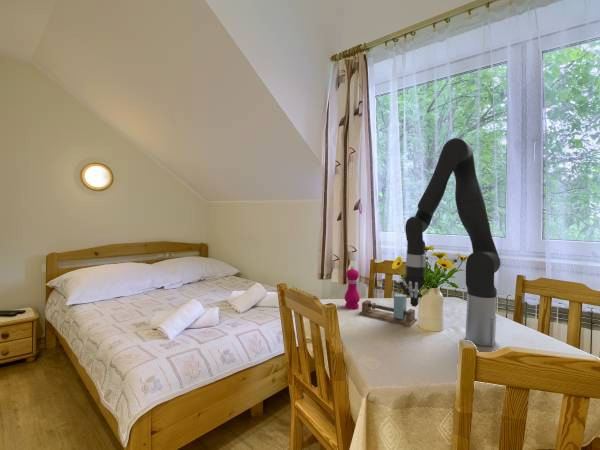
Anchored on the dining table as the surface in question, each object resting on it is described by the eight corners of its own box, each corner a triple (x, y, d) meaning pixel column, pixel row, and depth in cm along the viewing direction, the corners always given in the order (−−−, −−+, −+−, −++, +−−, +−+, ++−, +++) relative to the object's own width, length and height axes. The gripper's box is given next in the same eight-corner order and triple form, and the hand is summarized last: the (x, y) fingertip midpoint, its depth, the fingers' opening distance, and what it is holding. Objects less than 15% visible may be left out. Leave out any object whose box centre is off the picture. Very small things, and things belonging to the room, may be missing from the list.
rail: (416, 321, 138) (417, 308, 137) (410, 326, 131) (410, 313, 131) (367, 310, 152) (367, 298, 151) (359, 314, 145) (359, 302, 145)
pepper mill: (360, 309, 152) (361, 267, 150) (345, 309, 152) (345, 267, 151) (358, 305, 159) (359, 264, 158) (343, 304, 159) (344, 264, 158)
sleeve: (406, 316, 138) (406, 295, 138) (402, 319, 135) (403, 297, 135) (396, 314, 141) (397, 293, 140) (393, 317, 138) (394, 295, 137)
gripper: (434, 265, 132) (433, 307, 133) (403, 261, 140) (401, 300, 141) (429, 268, 126) (428, 311, 127) (396, 264, 134) (395, 305, 135)
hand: (414, 306), depth 134 cm, fingers closed
